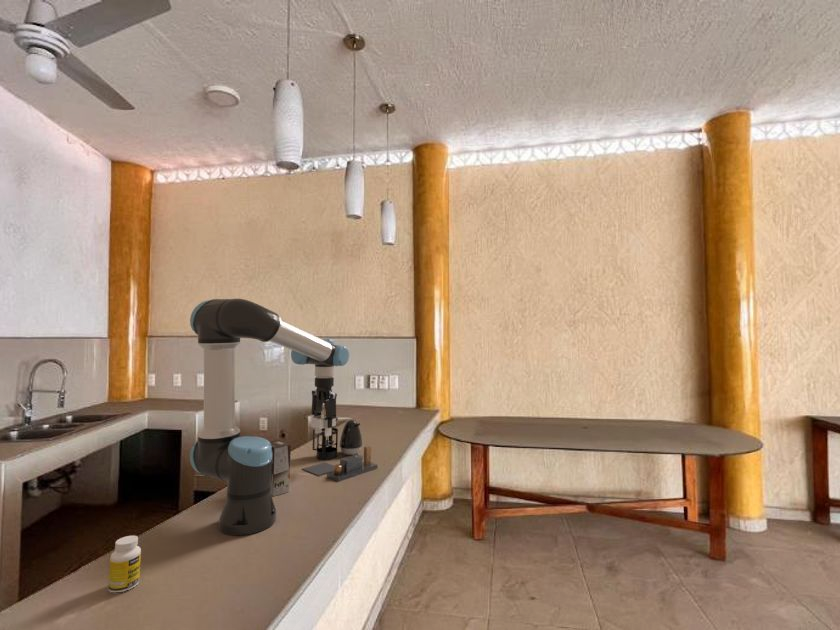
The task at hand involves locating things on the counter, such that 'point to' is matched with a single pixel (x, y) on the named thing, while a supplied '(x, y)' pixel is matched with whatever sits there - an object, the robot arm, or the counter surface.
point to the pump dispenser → (351, 438)
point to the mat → (320, 469)
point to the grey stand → (352, 466)
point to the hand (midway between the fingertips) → (323, 434)
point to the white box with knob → (320, 421)
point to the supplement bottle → (125, 564)
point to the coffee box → (280, 467)
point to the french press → (324, 451)
